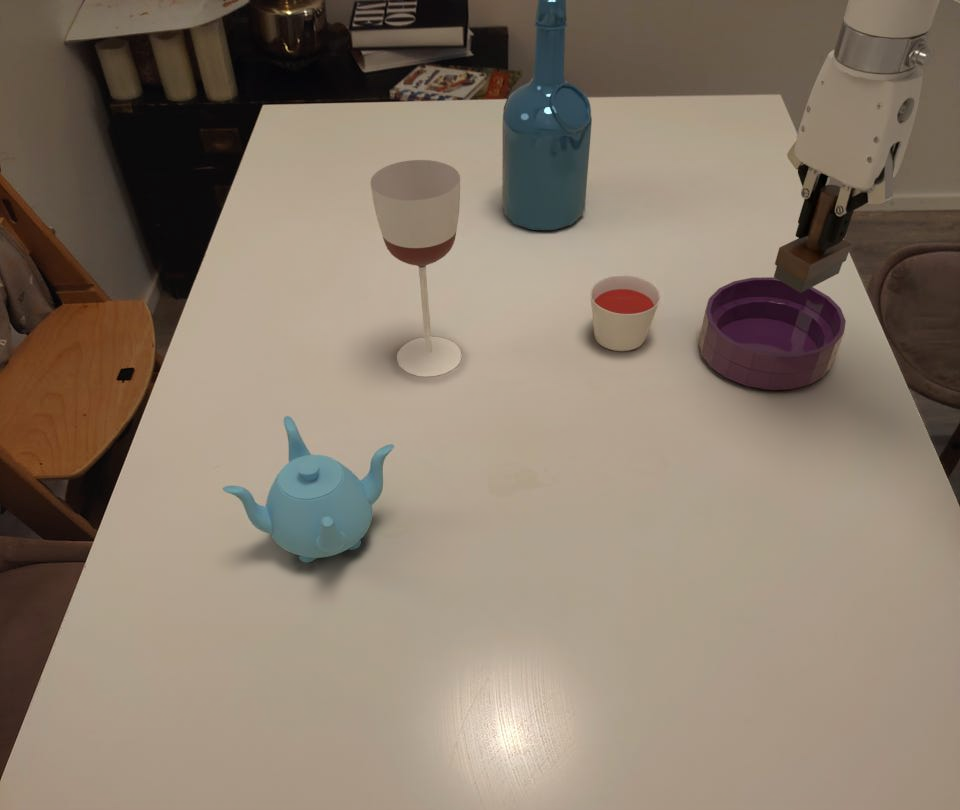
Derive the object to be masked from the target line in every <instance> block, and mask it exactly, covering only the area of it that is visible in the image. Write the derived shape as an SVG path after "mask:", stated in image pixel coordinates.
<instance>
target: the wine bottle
mask: <svg viewBox="0 0 960 810" xmlns="http://www.w3.org/2000/svg"><path fill="white" fill-rule="evenodd" d="M536 4H537V5H536V12H535V20H534V27H536V29H535V43H534V44H535V45H534V59H533V60H534V62H533V76H532V77H531V79H530V81H527V82H525V83H524V84H522V85H521V86H519V87H518V88H517V89H515V90H514V91H512V93H510V94H509V96H508V97H507V99H506V101H505V103H504V106H503V110H502V111H503V113H502V157H501V158H502V159H501V160H502V164H501V165H502V176H501V177H502V178H501V179H502V184H501V185H502V187H501V188H502V189H501V190H502V193H501V194H502V195H501V196H502V199H501V201H502V207H501V210H502V212H503V215H504V216H505V217H506V218H507V219H508V220H509V221H510V222H511V223H513V224H514V226H518V227H522V228H524V229H528V230H530V231H555V230H559V229H562V228H566V227H569V226H572V225H573V224H575V222H577V221H578V219H580V218H581V217H582V216H583V214H584V212H585V210H586V198H587V197H586V196H587V184H588V175H589V162H590V161H589V160H590V148H591V137H592V136H591V135H592V121H593V120H592V119H593V116H592V107H591V102H590V100H589V98H588V96H587V95H586V93H585V92H584V91H582V90H581V89H580V88H579V87H578V86H576V85H574V84H573V83H571V82H570V81H567V79H566V76H565V54H566V53H565V47H566V45H565V44H566V27H568V20H567V0H537V3H536Z"/></svg>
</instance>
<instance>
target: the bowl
mask: <svg viewBox="0 0 960 810" xmlns="http://www.w3.org/2000/svg"><path fill="white" fill-rule="evenodd" d="M846 323H847V320H846V318H845V316H844V313H843V311H842V308H841V307H840V306H839V305H838V303H836V301H834V300H833V299H832V298H831V296H829V295H827V294H826V293H824V292H822V291H821V290H819V289H817V288H815V287H814V286H813V287H811V288H809V289H807V290H805V291H803V292H802V293H800V292H798V291H797V290H795V289H793V288H792V287H790V286H788V285H786V284H785V283H783V282H781V281H780V280H778V279H776V278H774V276H773V277H770V276H769V277H768V276H767V277H766V276H765V277H763V276H762V277H748V278H744V279H739V280H733V281H731V282H729V283H727V284H725V285H723V286H721V287H719V288H717V290H716V291H715V292H714V293H712V294H711V296H710V297H709V298H708V300H707V304H706V307H705V310H704V315H703V320H702V325H701V329H700V333H699V334H700V335H699V338H698V346H699V350H700V355H701V356H702V358H703V359H704V360H705V362H706V363H707V364H708V366H709V367H710V368H711V369H713V370H714V371H715V372H717V373H718V374H720V375H721V376H722V377H724V378H726V379H728V380H730V381H733V382H736V383H738V384H741V385H743V386H746V387H751V388H755V389H761V390H765V391H766V390H767V391H768V390H769V391H770V390H772V391H773V390H775V391H777V390H779V391H780V390H793V389H797V388H801V387H807V386H809V385H811V384H813V383H815V382H816V381H817V382H818V380H820V379H822V378H823V377H825V375H827V373H828V371H830V369H831V368H832V367H833V364H834V362H835V358H836V356H837V353H838V350H839V348H840V345H841V343H842V339H843V337H844V334H845V330H846V329H845V328H846Z"/></svg>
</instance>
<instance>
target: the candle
mask: <svg viewBox="0 0 960 810" xmlns="http://www.w3.org/2000/svg"><path fill="white" fill-rule="evenodd" d="M589 293H590V304H591V306H590V307H591V315H592V326H593V335H594V338H595V340H596V342H597V344H599V345H600V346H602V347H603V348H605V349H607V350H611V351H615V352H628V351H632V350H633V351H634V350H635V349H638V348H640V346H642V345H643V344H644V342H645V341H646V339H647V337H648V334H649V332H650V329H651V326H652V323H653V321H654V318H655V315H656V312H657V309H658V307H659V304H660V302H661V292H660V290H659V288H658V287H657V286H656V284H654V283H653V282H652V281H650V280H648V279H646V278H643V277H641V276H637V275H631V274H616V275H615V274H614V275H610V276H607V277H604V278H601V279H599V280H598V281H597V282H595V283H594V284H593V285H592V286H591V289H590V292H589Z"/></svg>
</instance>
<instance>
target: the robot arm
mask: <svg viewBox="0 0 960 810" xmlns="http://www.w3.org/2000/svg"><path fill="white" fill-rule="evenodd" d="M940 1H941V0H848V2H847V5H846V9H845V12H844V16H843V19H842V22H841V25H840V29H839V33H838V36H837V40H836V43H835V47H834V49H833V50H831V51H830V52H829V53H828V54H827V56H826V58H825V60H824V62H823V64H822V66H821V67H820V68H821V69H820V70H819V73H818V75H817V77H816V80H815V82H814V84H813V87H812V89H811V92H810V94H809V98H808V100H807V103H806V105H805V109H804V112H803V115H802V117H801V120H800V124H799V128H798V132H797V135H796V139H795V142H794V143H793V144H792V146H791V147H790V148H789V150H788V151H787V154H786V156H787V159H788V160H789V162H790V163H791V164H792V165H793V168H795V170H797V175H798V178H799V181H800V183H801V187H802V188H801V190H800V191H801V192H800V195H801V197H802V199H803V202H802V206H801V210H800V212H799V213H800V214H799V216H798V220H797V228H796V231H795V238H797V239H798V238H803V237H805V236H807V234H808V231H809V227H810V224H811V221H812V218H813V214H814V211H815V208H816V204H817V201H818V198H819V195H820V191H821V188H822V187H823V186H825V185H830V181H831V179H833V180H835V181H837V182H839V183H841V185H840V187H841V188H840V192H839V196H838V199H837V203H836V206H835V210H834V211H832V212H830V213H829V214H828V216H827V219H826V222H825V225H824V228H823V231H822V235H821V238H820V241H819V244H818V247H819V249H820V250H822V251H824V250H826V249H828V248H830V247H832V246H835V245H837V244H839V243H840V242H841V241H842V240H845V237H846V235H847V232H848V229H849V227H850V223H851V220H852V217H853V214H854V211H855V210H858V209H859V208H862V207H863V206H876V205H877V206H878V205H883V204H885V203H887V202H889V201H891V200H892V199H893V197H894V178H895V177H896V176H897V174H898V172H899V170H900V168H901V166H902V162H903V160H904V157H905V154H906V152H907V147H908V144H909V141H910V137H911V134H912V131H913V128H914V123H915V121H916V120H915V119H916V116H917V112H918V107H919V103H920V98H921V93H922V92H921V91H922V85H923V77H924V70H923V69H921V68H919V67H918V66H922V67H923V68H924V67H927V66H928V65H929V64H930V63H931V61H932V60H933V58H934V55H935V50H934V49H933V48H930V47H929V45H928V44H927V43H928V40H929V38H930V35H931V33H930V29H931V27H932V24H933V21H934V19H935V15H936V12H937V9H938V7H939V5H940ZM952 1H953V2H956V3H959V4H960V0H952ZM872 187H873V188H872Z"/></svg>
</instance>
